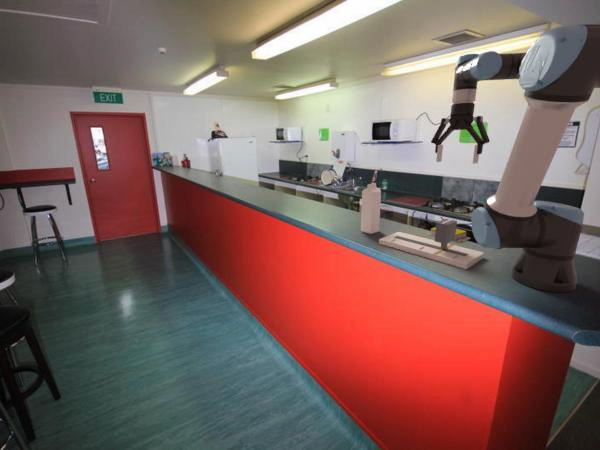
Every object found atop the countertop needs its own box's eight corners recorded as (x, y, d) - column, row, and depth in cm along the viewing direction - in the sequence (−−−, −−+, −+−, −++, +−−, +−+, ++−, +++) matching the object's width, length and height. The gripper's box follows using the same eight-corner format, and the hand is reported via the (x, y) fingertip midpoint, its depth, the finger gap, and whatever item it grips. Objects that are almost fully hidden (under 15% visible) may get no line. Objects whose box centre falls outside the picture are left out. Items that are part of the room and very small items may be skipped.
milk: (379, 231, 139) (382, 183, 133) (370, 234, 135) (373, 185, 129) (368, 228, 144) (371, 182, 137) (360, 231, 140) (362, 183, 134)
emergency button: (440, 221, 138) (472, 229, 125) (439, 230, 139) (471, 239, 127) (427, 225, 133) (459, 233, 121) (426, 234, 134) (458, 244, 122)
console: (483, 257, 107) (484, 251, 106) (466, 269, 98) (467, 262, 97) (398, 236, 132) (398, 231, 131) (379, 243, 123) (379, 238, 123)
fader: (453, 247, 110) (457, 220, 108) (444, 252, 106) (447, 224, 103) (443, 244, 113) (445, 218, 111) (433, 249, 109) (436, 222, 106)
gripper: (506, 99, 103) (496, 163, 109) (434, 106, 121) (429, 160, 127) (498, 98, 98) (488, 164, 104) (425, 105, 117) (420, 161, 123)
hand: (456, 162), depth 116 cm, fingers open, 13 cm apart
